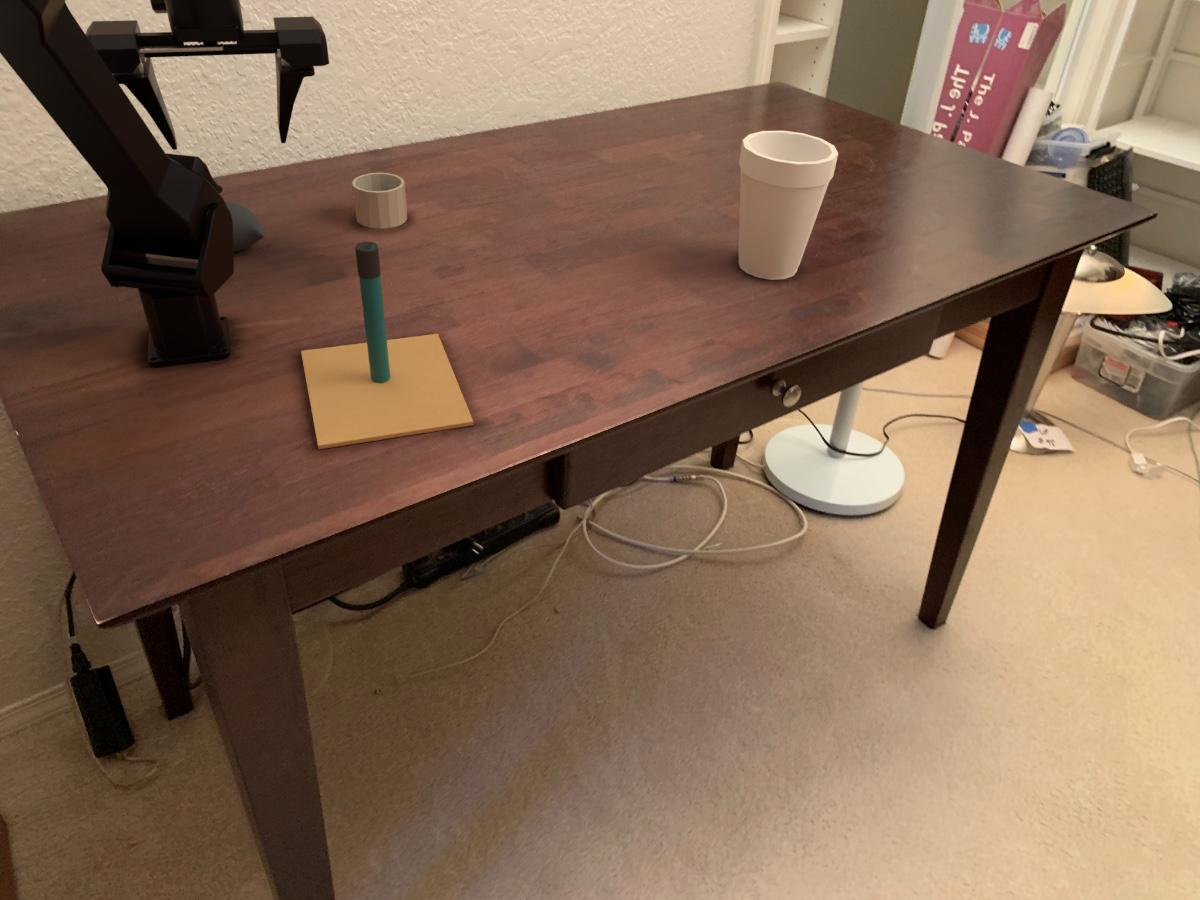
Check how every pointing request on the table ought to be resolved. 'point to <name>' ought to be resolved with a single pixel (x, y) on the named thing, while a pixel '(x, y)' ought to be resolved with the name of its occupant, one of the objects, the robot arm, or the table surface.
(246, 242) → the dark grey fabric pouch
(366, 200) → the pot
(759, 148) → the foam cup
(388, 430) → the desk mat
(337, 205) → the table surface
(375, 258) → the pen
